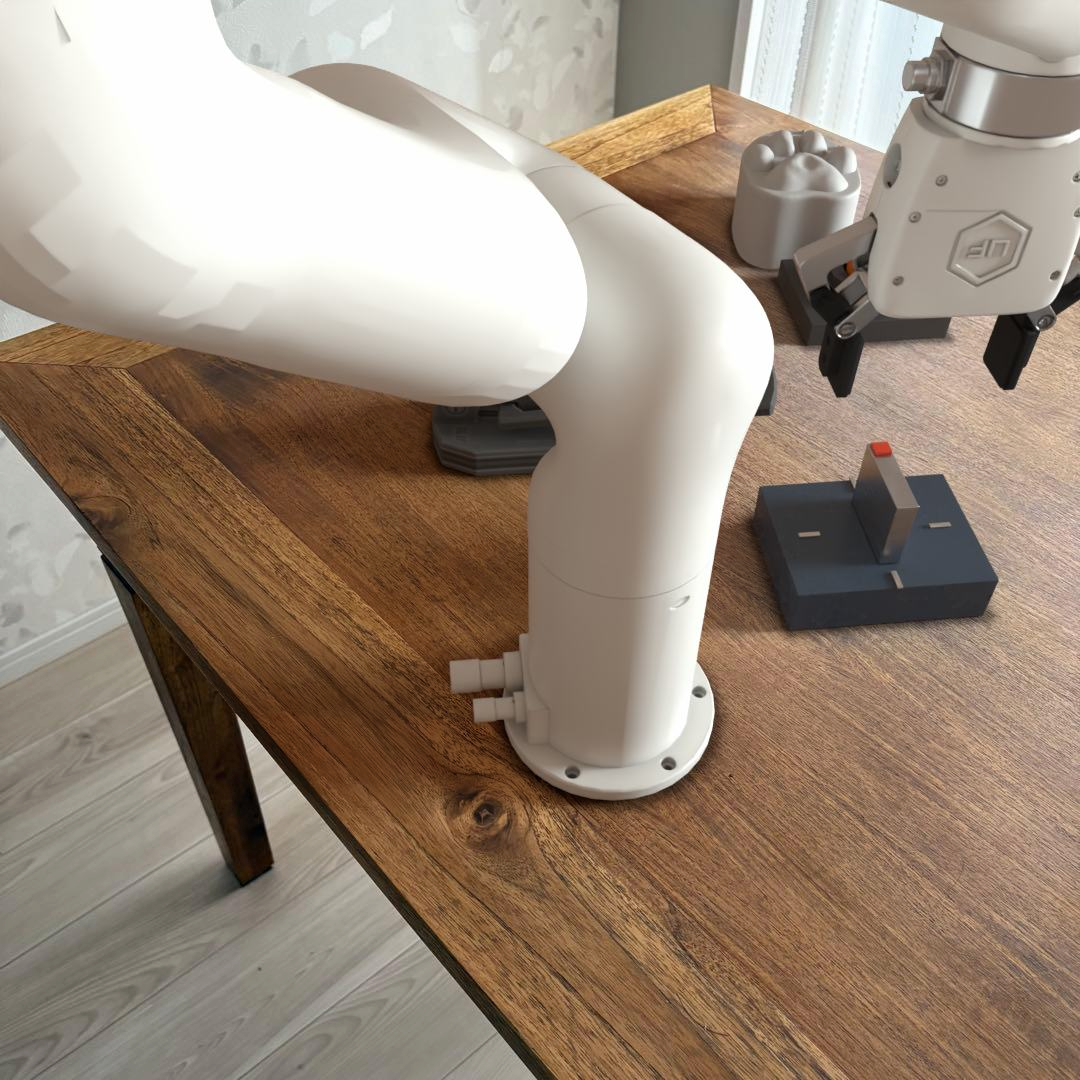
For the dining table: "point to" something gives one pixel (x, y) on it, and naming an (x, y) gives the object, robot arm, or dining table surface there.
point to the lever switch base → (869, 558)
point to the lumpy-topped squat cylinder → (792, 194)
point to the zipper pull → (511, 434)
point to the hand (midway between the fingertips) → (916, 379)
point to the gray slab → (884, 503)
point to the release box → (872, 332)
